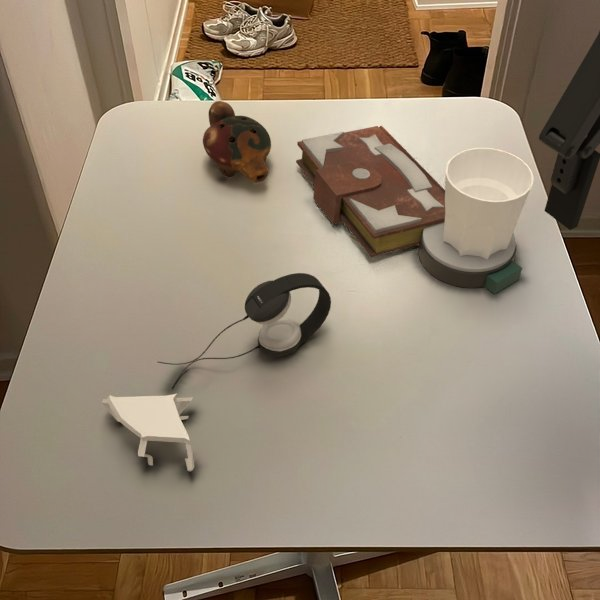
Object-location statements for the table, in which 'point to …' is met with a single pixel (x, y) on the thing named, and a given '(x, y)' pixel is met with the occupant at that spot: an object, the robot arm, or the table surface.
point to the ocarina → (236, 143)
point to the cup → (484, 199)
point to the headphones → (280, 315)
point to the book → (372, 188)
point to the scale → (467, 263)
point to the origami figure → (153, 420)
